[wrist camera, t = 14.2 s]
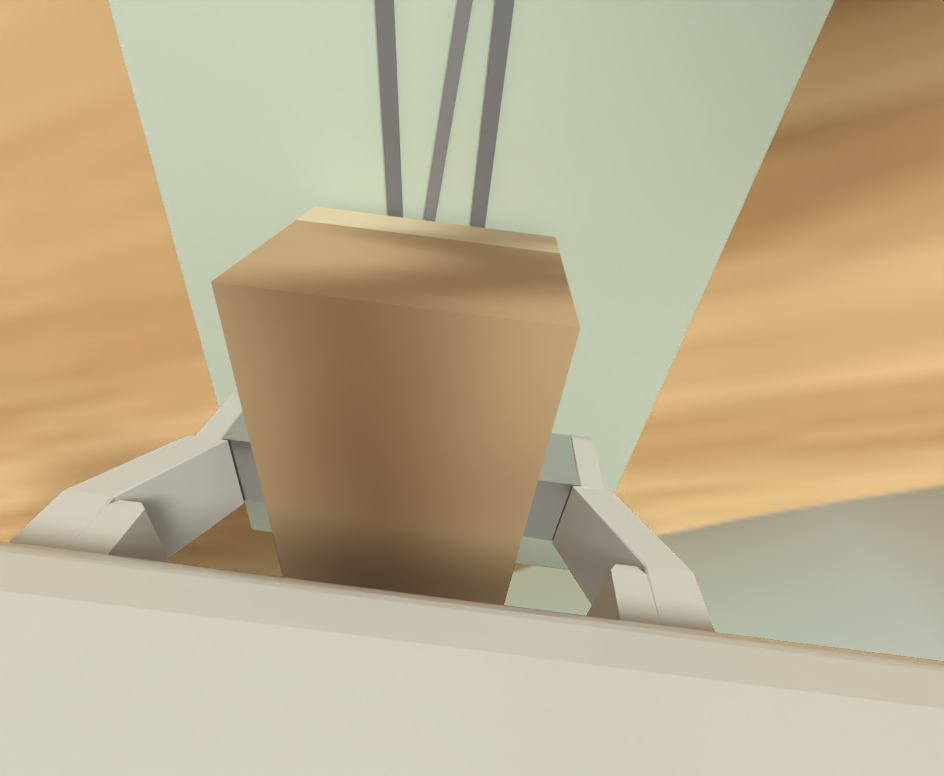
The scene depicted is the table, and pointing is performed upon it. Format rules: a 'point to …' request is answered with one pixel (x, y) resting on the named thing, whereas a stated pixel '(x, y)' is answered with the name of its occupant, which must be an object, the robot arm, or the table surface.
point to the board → (478, 150)
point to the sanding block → (399, 395)
